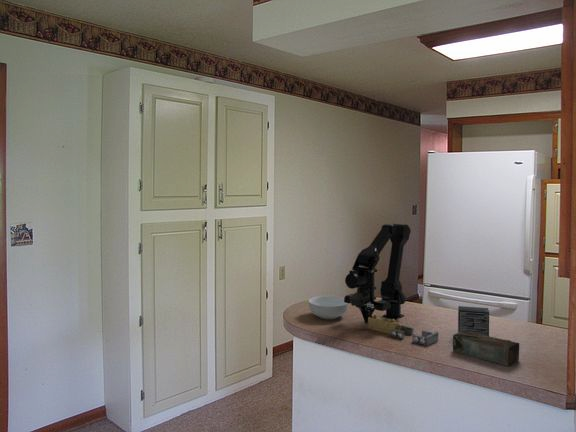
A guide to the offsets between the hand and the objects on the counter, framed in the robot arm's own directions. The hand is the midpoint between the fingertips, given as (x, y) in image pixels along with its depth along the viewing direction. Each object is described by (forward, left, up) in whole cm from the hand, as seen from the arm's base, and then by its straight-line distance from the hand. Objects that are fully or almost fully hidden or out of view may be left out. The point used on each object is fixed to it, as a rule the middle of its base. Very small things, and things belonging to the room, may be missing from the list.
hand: (366, 323), depth 185 cm
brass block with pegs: (0, +8, -1) cm, 8 cm away
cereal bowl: (0, -20, -2) cm, 20 cm away
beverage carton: (-1, +46, -2) cm, 46 cm away
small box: (-17, +35, -2) cm, 39 cm away
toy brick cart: (0, +20, -1) cm, 20 cm away
